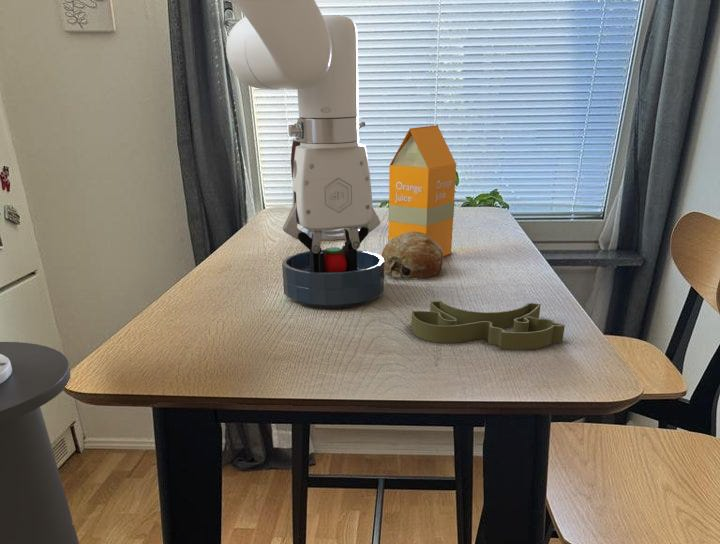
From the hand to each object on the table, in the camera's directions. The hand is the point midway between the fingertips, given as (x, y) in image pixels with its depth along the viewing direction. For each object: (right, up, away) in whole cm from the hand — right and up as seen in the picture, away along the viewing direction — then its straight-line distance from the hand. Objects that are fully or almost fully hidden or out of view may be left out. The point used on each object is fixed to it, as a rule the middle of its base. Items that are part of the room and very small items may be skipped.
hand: (334, 277), depth 95 cm
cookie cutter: (+19, -11, -13) cm, 25 cm away
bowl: (0, -2, +1) cm, 3 cm away
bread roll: (+12, +4, +13) cm, 18 cm away
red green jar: (0, 0, 0) cm, 0 cm away
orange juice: (+14, +10, +22) cm, 29 cm away
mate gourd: (-2, +20, +39) cm, 44 cm away
